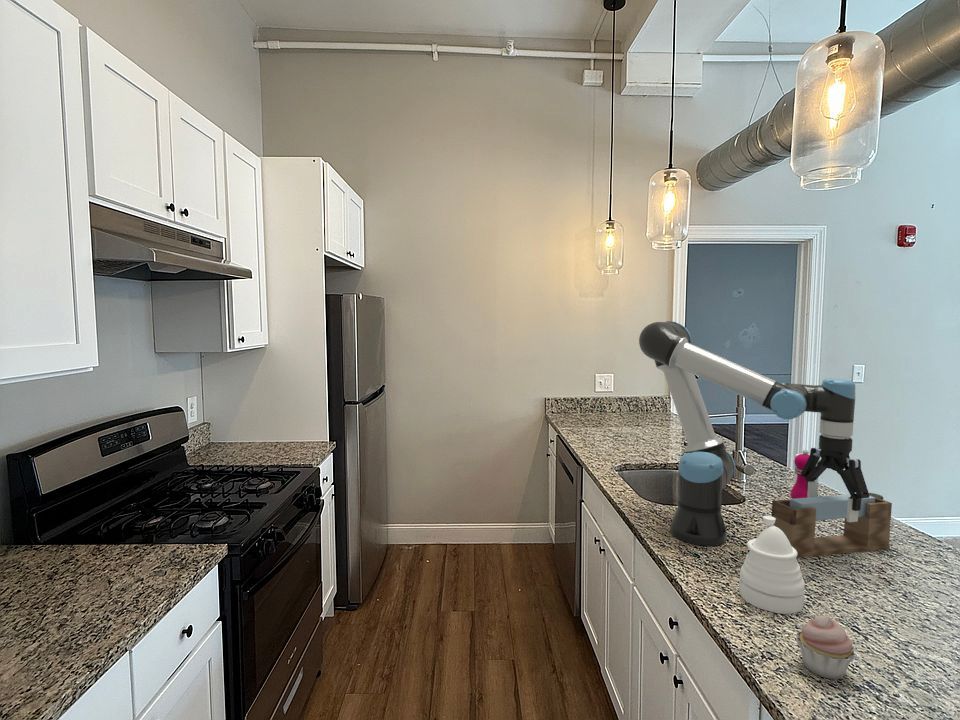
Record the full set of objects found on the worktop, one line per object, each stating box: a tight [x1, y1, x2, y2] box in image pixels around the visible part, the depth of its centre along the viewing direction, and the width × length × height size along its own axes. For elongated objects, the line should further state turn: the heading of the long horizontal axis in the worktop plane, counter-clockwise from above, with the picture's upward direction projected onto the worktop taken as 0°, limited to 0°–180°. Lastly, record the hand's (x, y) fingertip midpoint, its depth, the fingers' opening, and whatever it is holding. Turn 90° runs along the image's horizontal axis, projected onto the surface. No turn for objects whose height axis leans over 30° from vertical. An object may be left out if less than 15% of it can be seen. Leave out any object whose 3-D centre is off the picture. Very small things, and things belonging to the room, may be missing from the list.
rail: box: [789, 493, 875, 522], centre depth 144 cm, size 24×4×5 cm, turn 102°
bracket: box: [771, 495, 893, 559], centre depth 145 cm, size 31×8×13 cm, turn 101°
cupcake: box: [795, 615, 857, 680], centre depth 95 cm, size 9×9×10 cm
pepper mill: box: [790, 449, 810, 499], centre depth 174 cm, size 7×7×20 cm
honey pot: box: [738, 515, 806, 615], centre depth 119 cm, size 13×13×18 cm
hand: (831, 512), depth 145 cm, fingers open, 12 cm apart
